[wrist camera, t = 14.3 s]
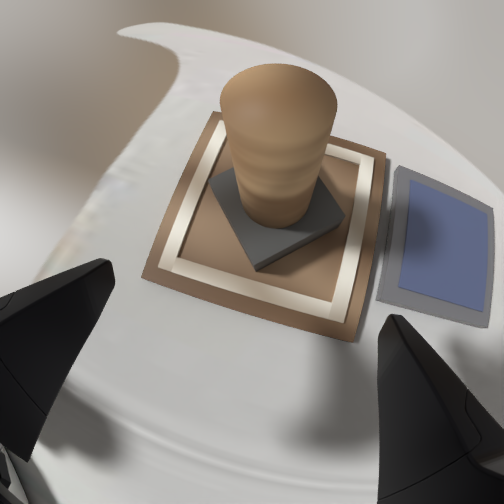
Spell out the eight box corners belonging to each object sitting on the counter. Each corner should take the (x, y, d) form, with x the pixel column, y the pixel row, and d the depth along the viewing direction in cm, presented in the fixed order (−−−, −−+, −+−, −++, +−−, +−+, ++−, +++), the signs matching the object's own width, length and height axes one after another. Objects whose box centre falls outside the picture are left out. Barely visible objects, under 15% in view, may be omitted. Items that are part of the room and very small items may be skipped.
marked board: (350, 342, 16) (354, 342, 16) (144, 279, 18) (139, 277, 17) (383, 157, 19) (386, 152, 19) (214, 115, 21) (212, 109, 20)
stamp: (338, 227, 18) (398, 130, 8) (255, 272, 17) (239, 202, 8) (290, 157, 19) (302, 39, 9) (213, 193, 19) (169, 83, 9)
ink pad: (479, 327, 16) (488, 327, 14) (375, 300, 17) (382, 298, 16) (486, 212, 18) (493, 207, 17) (394, 171, 19) (399, 164, 18)
